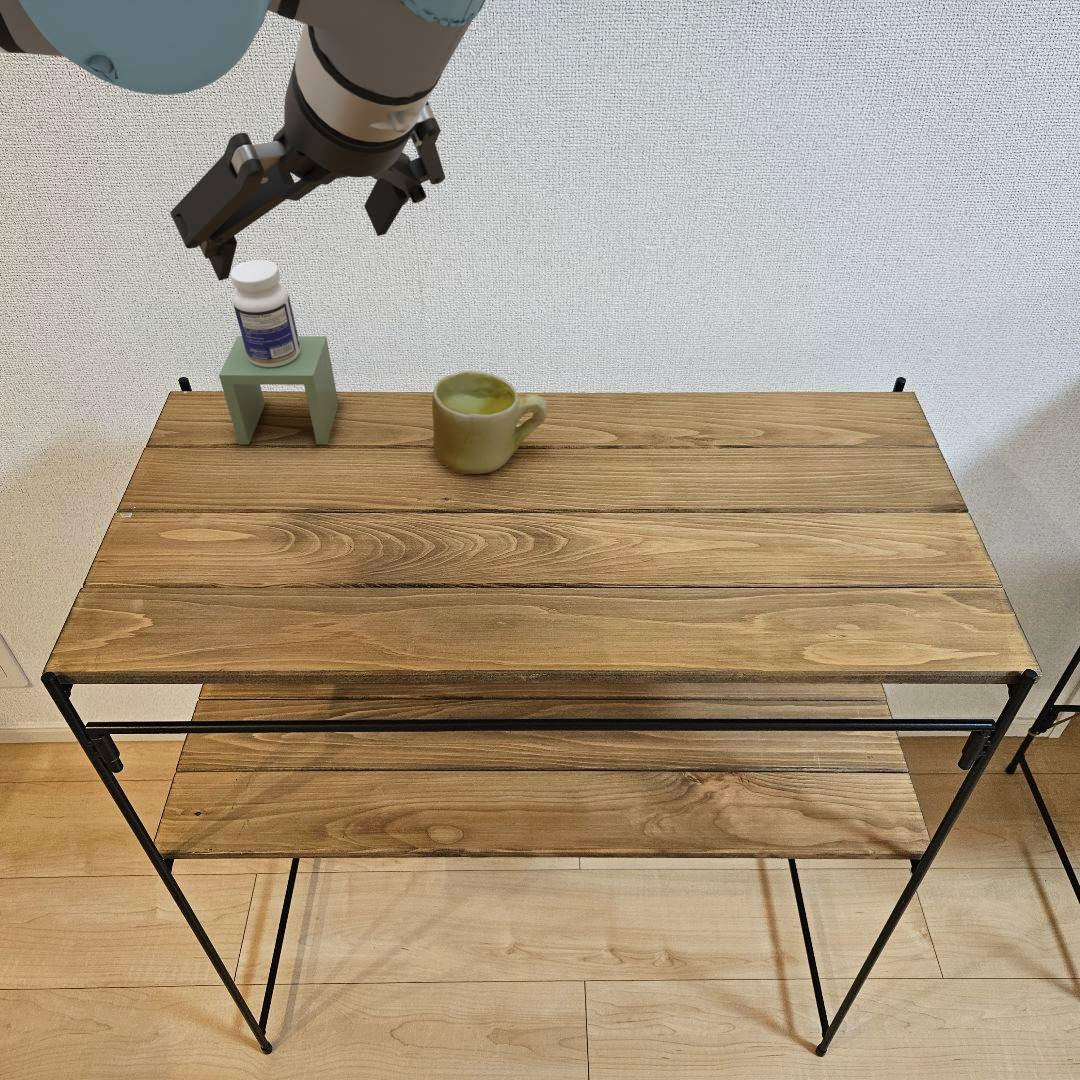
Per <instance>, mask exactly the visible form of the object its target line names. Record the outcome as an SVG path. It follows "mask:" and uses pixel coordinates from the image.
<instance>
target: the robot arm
mask: <svg viewBox="0 0 1080 1080" xmlns="http://www.w3.org/2000/svg"><path fill="white" fill-rule="evenodd" d="M485 2H486V0H0V53H7V54H28V55H29V54H31V55H40V56H50V57H51V56H53V57H65V58H66V59H67V60H68V61H69V62H71V63H73V64H74V65H76V66H78V67H79V68H80V69H82V70H84V71H86V72H88V73H89V74H91V75H93V76H94V77H96V78H97V79H100V80H102V81H104V82H107V83H109V84H111V85H113V86H116V87H119V88H121V89H124V90H128V91H131V92H134V93H139V94H146V95H151V96H152V95H153V96H154V95H155V96H157V95H158V96H159V95H160V96H170V95H179V94H180V95H181V94H186V93H189V92H194V91H197V90H201V89H202V88H204V87H207V86H209V85H211V84H213V83H215V82H216V81H217V80H220V78H222V77H224V76H225V75H227V73H229V72H230V71H231V70H232V69H233V68H234V67H235V66H236V65H237V64H238V63H239V62H240V61H241V59H242V58H243V57H244V55H245V54H246V53H247V51H249V48H250V47H251V45H252V43H253V41H254V39H255V37H256V35H257V34H258V33H259V31H260V29H261V27H262V26H263V24H264V22H265V19H266V15H267V13H268V12H271V13H274V14H277V15H278V16H279V17H282V18H285V19H288V20H291V21H292V20H294V21H295V22H299V23H302V24H303V27H302V30H301V33H300V37H299V41H298V44H297V48H296V51H295V59H294V62H293V65H292V69H291V73H290V76H289V80H288V84H287V88H286V92H285V96H284V107H283V109H284V110H283V112H284V113H283V117H284V118H283V121H284V122H283V126H282V127H281V128H280V129H279V130H278V131H277V132H276V133H275V134H274V136H273V138H272V141H268V142H262V143H256V144H253V142H252V140H251V137H250V136H249V134H248V133H247V132H239V133H236V134H234V135H232V136H231V137H230V138H229V140H228V142H227V145H226V148H225V150H224V153H223V155H222V156H221V157H220V158H219V159H218V160H217V161H216V162H215V163H214V164H213V165H212V167H211V168H210V169H209V170H208V171H207V172H206V173H205V174H204V175H203V176H202V177H201V178H200V179H199V180H198V181H197V183H196V184H194V186H193V187H192V188H191V189H190V190H189V191H188V193H186V194H185V195H184V197H183V198H182V199H181V200H180V201H179V202H178V203H177V204H176V205H175V206H174V207H173V208H172V210H171V211H170V212H169V214H170V216H171V219H172V220H173V222H174V224H175V227H176V229H177V231H178V233H179V235H180V238H181V241H182V243H183V244H184V246H185V248H186V249H190V250H191V249H196V248H198V247H199V248H200V250H201V253H202V255H203V257H204V258H205V259H208V260H209V262H210V265H211V266H212V269H213V271H214V274H215V276H216V277H217V280H218V281H219V282H220V281H224V280H227V279H229V278H230V275H231V271H232V266H233V263H234V262H233V261H234V257H235V254H236V250H237V245H238V241H237V239H236V235H238V234H239V233H240V232H242V231H243V230H245V229H247V227H250V225H252V224H253V223H255V222H256V221H258V220H259V219H260V218H262V217H264V216H265V215H266V214H268V213H269V212H270V211H272V210H274V209H275V208H276V207H278V206H279V205H281V204H282V203H283V202H285V201H286V200H289V201H294V202H297V201H299V200H302V198H304V197H305V196H307V195H308V194H310V193H311V192H312V191H315V189H317V188H318V187H320V186H322V185H324V186H327V185H329V184H331V183H332V182H334V181H335V180H337V179H343V178H344V179H345V178H348V177H349V178H368V177H370V178H373V179H374V180H376V181H375V184H374V185H373V187H372V189H371V191H370V193H369V195H368V198H367V199H366V201H365V203H364V205H363V207H364V209H365V211H366V214H367V216H368V218H369V220H370V222H371V224H372V227H373V229H374V231H375V234H376V236H377V237H380V236H384V235H386V234H387V233H388V231H389V229H390V228H391V226H392V225H393V223H394V221H395V219H396V217H397V216H398V214H399V213H400V212H401V209H402V208H403V206H404V205H406V204H407V203H408V202H409V201H410V200H411V202H412V204H418V203H421V202H423V201H424V200H425V199H426V198H427V194H426V192H425V190H424V187H423V185H422V184H423V183H425V182H427V181H429V182H430V185H439V184H440V183H443V182H444V180H445V179H446V175H445V171H444V168H443V164H442V162H441V158H440V155H439V152H438V148H437V145H436V143H437V141H438V138H439V136H440V133H441V128H440V125H439V123H438V120H437V118H436V117H435V114H434V112H433V109H432V108H431V107H432V106H431V105H430V102H429V99H430V97H431V95H432V93H433V92H434V90H435V88H436V87H437V85H438V83H439V81H440V79H441V77H442V75H443V73H444V71H445V69H446V67H447V66H448V65H449V62H450V60H451V59H452V58H453V56H454V54H455V52H456V50H457V48H458V46H459V44H460V43H461V41H462V39H463V38H464V36H465V34H466V32H467V31H468V29H469V27H470V25H471V24H472V22H473V21H474V19H476V18H477V16H479V15H478V14H480V12H481V10H482V8H483V7H484V4H485ZM409 140H411V141H412V143H413V145H414V146H415V151H416V153H417V155H418V157H416V158H414V159H411V158H410V156H409V155H408V154H406V153H405V152H403V151H404V149H405V147H406V145H407V144H408V142H409ZM292 175H293V176H295V177H297V178H298V179H299V180H297V181H296V182H295V180H294V178H293V176H292Z"/></svg>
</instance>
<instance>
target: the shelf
mask: <svg viewBox="0 0 1080 1080" xmlns="http://www.w3.org/2000/svg"><path fill="white" fill-rule="evenodd" d="M298 338H299V343H300V353H299V355H298V356H297V357H296V358H295V359H294V360H293V361H292V362H290V363H288V364H285V365H282V366H278V367H261V366H258V365H255V364H253V363H252V362H251V361H250V360H249V359H248V357H247V354H246V350H245V346H244V343H243V339H242V335H237V337H236V339H235V341H234V343H233V344H232V347H231V349H230V351H229V353H228V355H227V356H226V357H227V358H226V359H225V362H224V363H223V366H222V367H221V370H220V372H219V374H218V377H219V381H220V383H221V387H222V391H223V395H224V399H225V401H226V405H227V409H228V412H229V416H230V419H231V423H232V426H233V430H234V434H235V437H236V440H237V444H238V445H239V446H240V445H244V446H245V445H248V446H249V445H250V443H251V441H252V439H253V436H254V433H255V430H256V429H257V426H258V423H259V421H260V418H261V415H262V413H263V411H264V408H265V405H266V402H265V398H264V393H263V390H262V385H273V386H274V385H277V386H278V385H279V386H280V385H281V386H282V385H286V386H287V385H288V386H289V385H291V386H292V385H293V386H294V385H295V386H296V385H298V386H299V385H303V386H304V391H305V395H306V400H307V406H308V410H309V415H310V419H311V425H312V430H313V433H314V434H313V435H314V438H315V443H316V445H317V446H318V445H319V446H323V445H324V446H325V445H328V442H329V438H330V435H331V432H332V428H333V425H334V422H335V418H336V414H337V411H338V409H339V404H340V403H339V399H338V394H337V392H338V391H337V387H336V382H335V381H336V380H335V376H334V371H333V366H332V360H331V354H330V349H329V348H330V347H329V343H328V337H327V336H325V335H324V336H323V335H322V336H321V335H320V336H319V335H317V336H313V335H310V336H309V335H308V336H307V335H305V336H304V335H301V336H299V335H298Z"/></svg>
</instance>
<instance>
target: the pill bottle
mask: <svg viewBox="0 0 1080 1080" xmlns="http://www.w3.org/2000/svg"><path fill="white" fill-rule="evenodd" d="M230 276H231V277H230V278H231V281H232V285H233V287H234V288H235V290H234V292H233V294H232V304H233V308H234V312H235V316H236V320H237V324H238V327H239V331H240V334H241V335H240V336H242V339H243V343H244V346H245V350H246V354H247V357H248V359H249V360H250V361H251V362H252V363H253V364H255V365H258V366H261V367H278V366H282V365H285V364H288V363H290V362H292V361H293V360H294V359H295V358H296V357H297V356H298V355H299V353H300V343H299V338H298V336H299V334H298V330H297V325H296V321H295V316H294V312H293V307H292V303H291V298H290V294H289V291H288V289H287V288H286V286H285V285H284V284H282V283H281V282H280V280H281V274H280V271H279V267H278V265H277V264H276V263H275V262H272V261H270V260H266V259H252V260H247V261H243V262H241V263H239V264H237V265H236V266H234V267H233V268H232V269H231V270H230Z"/></svg>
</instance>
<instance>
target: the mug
mask: <svg viewBox="0 0 1080 1080" xmlns="http://www.w3.org/2000/svg"><path fill="white" fill-rule="evenodd" d="M431 399H432V400H431V411H432V412H431V413H432V425H433V436H432V437H433V450H434V454H435V455H436V457H437V460H438V461H439V462H440V463H442V464H443V465H444V466H446V467H447V468H448V469H450V470H451V471H453V472H454V473H457V474H461V475H475V474H476V475H480V474H487V473H491V472H495V471H497V470H499V469H500V468H502V467H503V466H505V465H506V464H507V462H508V461H509V460H510V459H511V457H512V456H513V454H514V453H515V452H517V450H518V449H519V447H520V445H521V444H522V443H523V441H525V439H526V438H527V437H528V436H530V435H531V434H532V433H533V432H534V431H536V430H537V428H538V427H539V426H541V425H542V424H543V423H544V421H545V420H546V417H547V414H548V410H549V409H548V403H547V401H546V399H544V398H543V397H542V396H540V395H537V394H533V393H531V394H525V395H523V396H519V394H518V392H517V389H516V387H515V386H514V385H513V384H512V383H511V382H509V381H508V380H507V379H506V378H503V377H501V376H499V375H497V374H493V373H489V372H485V371H478V370H461V371H459V372H456V373H454V374H450V375H449V374H448V375H445V376H443V377H442V378H440V379H438V381H437V382H436V383H435V385H434V388H433V392H432V398H431ZM531 413H532V416H531V417H530V418H528V419H526V420H525V421H523V423H521V424H520V425H518V423H519V422H520V420H521V419H522V418H523V417H524V416H525V415H527V414H531ZM517 425H518V426H517Z"/></svg>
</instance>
